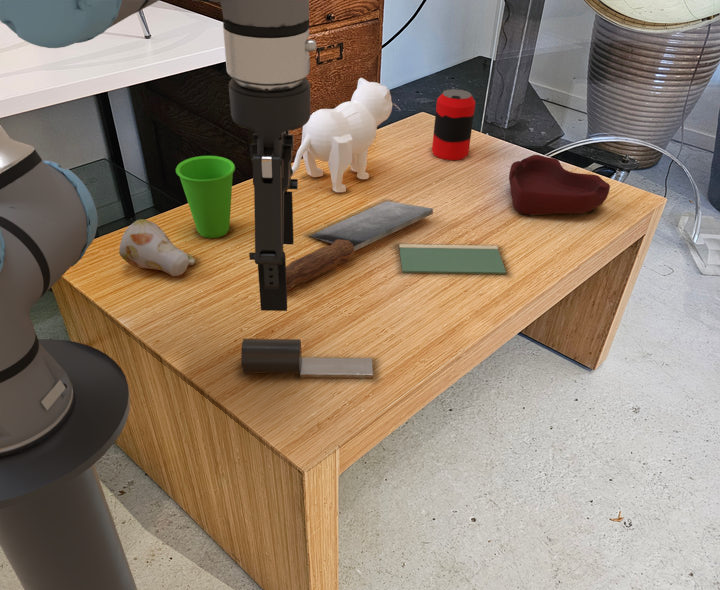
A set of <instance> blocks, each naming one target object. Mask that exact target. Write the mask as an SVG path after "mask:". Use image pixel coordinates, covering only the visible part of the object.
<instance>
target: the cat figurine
mask: <svg viewBox="0 0 720 590" xmlns="http://www.w3.org/2000/svg"><path fill="white" fill-rule="evenodd" d="M393 106H395V107H396V108H397V109H398V110H400V107H399V106H398V105H397V104H396V103H393V102H392V95H391V91H390V89H389V88H388V87H387V86H386V85H383V84H382V83H379V82H376V81H368V80H366V79H365V78H363V77H360V78H359V79H358V80H357V86H356V89H355V90H354V92H353V94H352V95H351V99H350V101H344V102H342V103H340V104H339V105H337V106H335V107H334V108H320V109H318V110H315V111H314V112H313V113H311V115H310V119H309V121H308V122H307V123H306V124H305V125H304V126H302V132H301V144H300V146H299V147H298V149H297V151H296V155H295V158H294V160H293V161H294V162H293V165H291V167H292V170H293V174H292V177H293V176H294V175H295V173H296V172H297V171H298V170H299V168H300V164H301V162H302V159H303V163H304V166H305V170H306V173H307V174H308V176H310V177H312V178H318V177H323V176H324V169H323V168H320V167H318V165H317V162H316V161H317V160H319V161H321V162H325V163H327V166H328V169H329V174H330V179H331V180H330V181H331V186H332V191H334V192H335V193H345V192H347V185H346V184H344V183H343V177H344V173H346V171H347V170H348V168H349V167H350V171H352V172H354V173H356V178H357V179H359V180H368V179H369V178H370V177H369V176H370V173H368V172H367V171H366V170H367V166H368V153H369V148H370V147H371V146H372V145H373V144H374V141H375V139H376V136H377V131H378V126H379V125H381V124H382V123H383V122H385V121H386V120H388V119H389V118H390V116H391V114H392V110H393Z"/></svg>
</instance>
